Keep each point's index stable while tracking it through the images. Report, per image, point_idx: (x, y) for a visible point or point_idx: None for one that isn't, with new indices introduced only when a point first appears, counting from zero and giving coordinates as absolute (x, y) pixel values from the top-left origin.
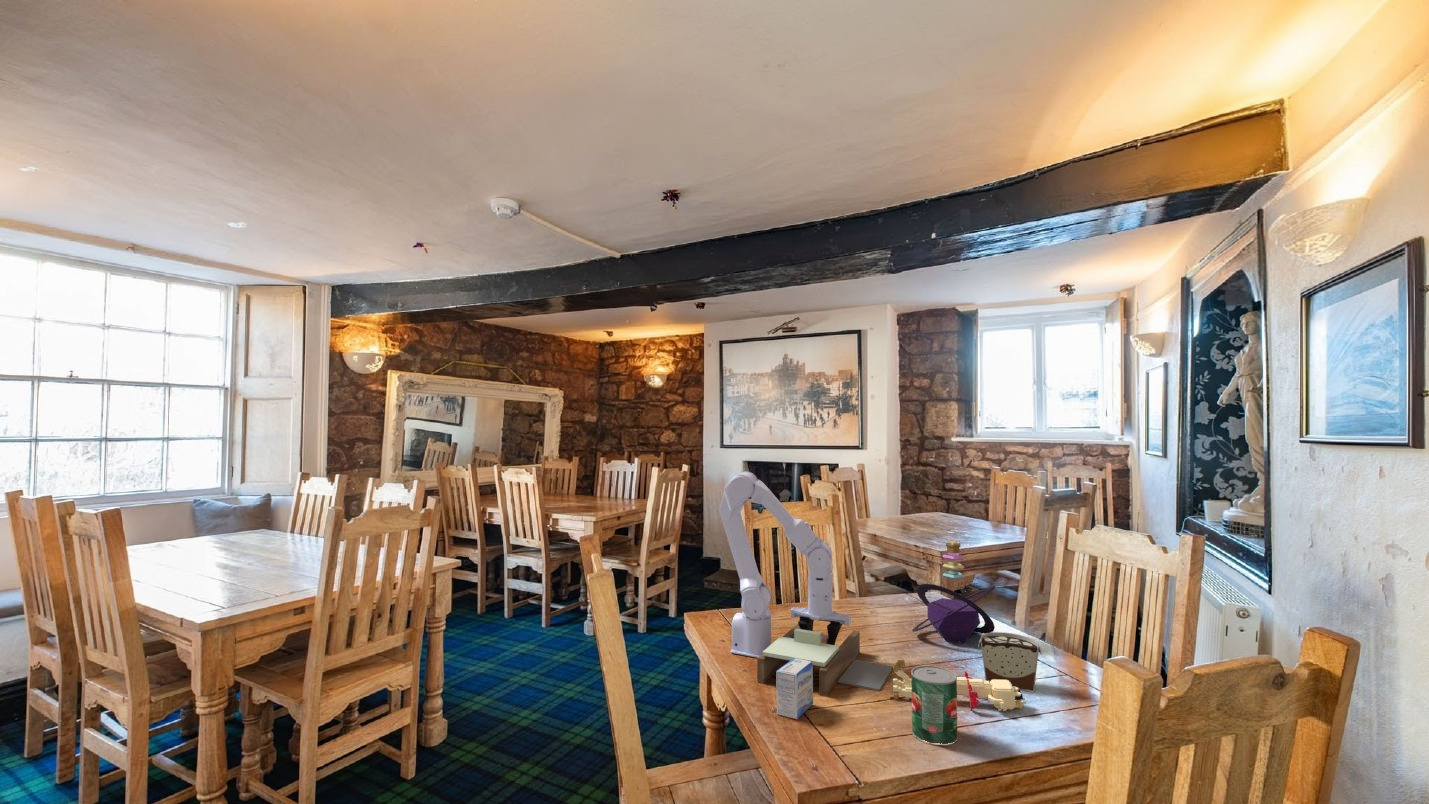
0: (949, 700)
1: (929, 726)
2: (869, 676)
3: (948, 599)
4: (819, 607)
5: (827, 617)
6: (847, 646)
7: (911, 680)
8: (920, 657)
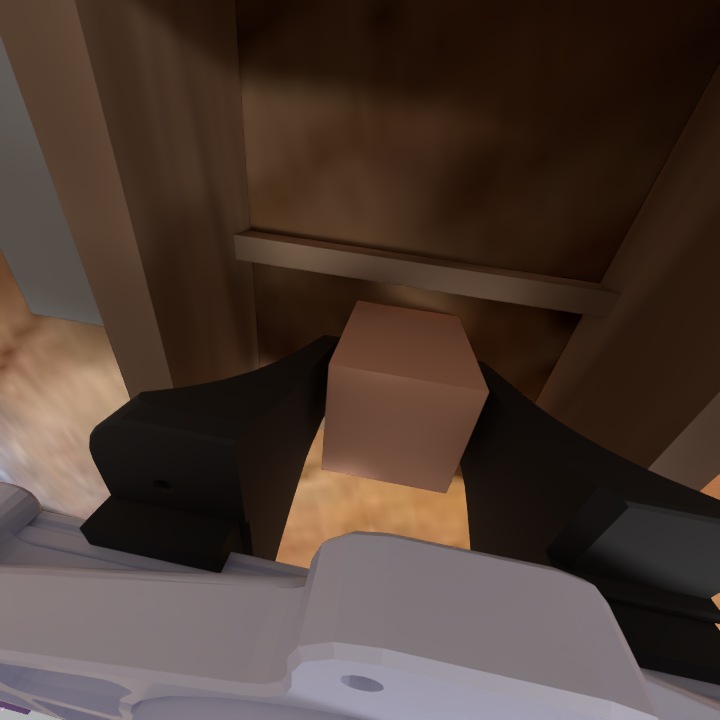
0: None
1: None
2: (14, 84)
3: (5, 707)
4: None
5: (130, 639)
6: (82, 241)
7: None
8: (41, 436)
